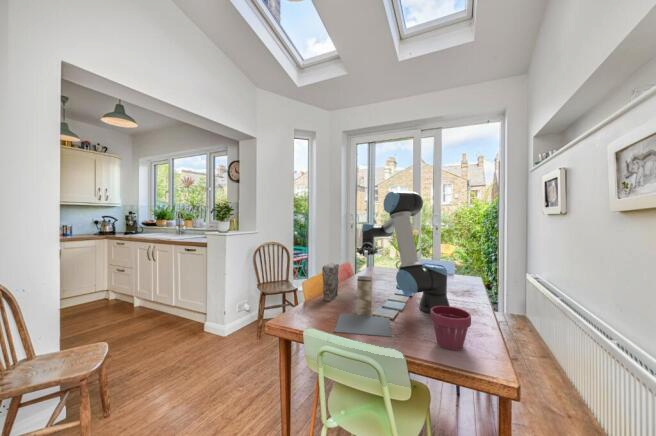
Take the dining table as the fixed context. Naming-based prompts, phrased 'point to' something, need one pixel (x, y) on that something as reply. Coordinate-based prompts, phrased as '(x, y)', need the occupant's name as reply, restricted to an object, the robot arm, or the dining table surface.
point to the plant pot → (450, 326)
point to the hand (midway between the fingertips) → (365, 254)
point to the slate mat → (363, 325)
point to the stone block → (330, 281)
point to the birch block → (364, 295)
